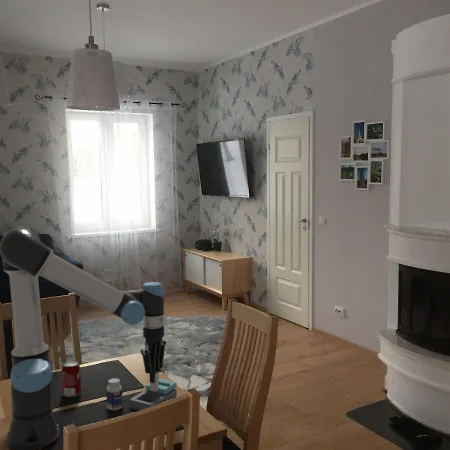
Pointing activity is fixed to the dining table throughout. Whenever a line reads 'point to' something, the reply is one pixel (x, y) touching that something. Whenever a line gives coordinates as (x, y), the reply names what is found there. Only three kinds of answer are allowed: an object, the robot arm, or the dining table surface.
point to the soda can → (71, 379)
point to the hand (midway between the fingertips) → (154, 390)
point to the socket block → (150, 399)
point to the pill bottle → (114, 394)
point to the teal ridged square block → (163, 386)
